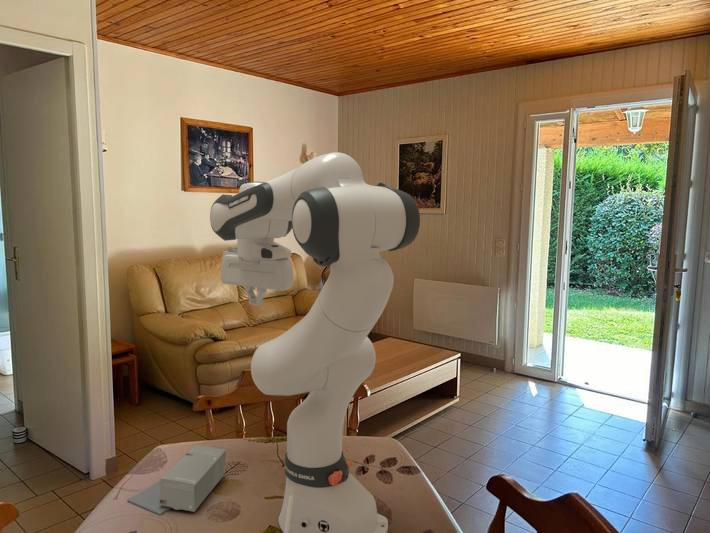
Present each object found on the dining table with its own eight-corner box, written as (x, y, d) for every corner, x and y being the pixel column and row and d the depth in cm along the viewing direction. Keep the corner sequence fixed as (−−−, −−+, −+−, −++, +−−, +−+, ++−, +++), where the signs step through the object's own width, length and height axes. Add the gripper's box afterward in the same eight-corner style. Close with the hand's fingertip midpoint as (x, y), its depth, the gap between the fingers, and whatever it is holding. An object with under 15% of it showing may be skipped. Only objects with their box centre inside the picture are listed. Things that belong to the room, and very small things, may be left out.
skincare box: (227, 448, 123) (197, 481, 108) (225, 477, 124) (195, 514, 108) (193, 443, 125) (159, 475, 109) (191, 472, 125) (157, 507, 110)
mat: (212, 482, 121) (212, 480, 121) (159, 515, 108) (159, 513, 108) (181, 470, 126) (180, 468, 126) (127, 501, 113) (127, 499, 113)
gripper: (214, 247, 131) (215, 302, 132) (281, 252, 121) (281, 311, 123) (232, 245, 136) (232, 298, 138) (297, 250, 126) (296, 307, 128)
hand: (255, 304), depth 130 cm, fingers closed
